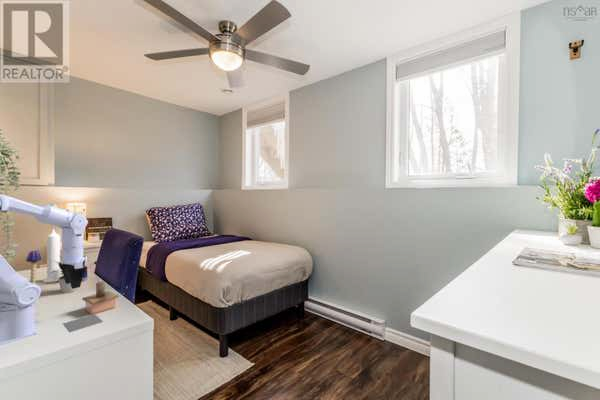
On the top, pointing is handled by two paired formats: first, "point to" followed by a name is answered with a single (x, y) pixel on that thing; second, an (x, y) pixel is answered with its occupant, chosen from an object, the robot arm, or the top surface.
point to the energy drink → (86, 270)
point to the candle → (53, 257)
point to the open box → (100, 306)
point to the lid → (100, 295)
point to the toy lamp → (33, 264)
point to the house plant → (64, 287)
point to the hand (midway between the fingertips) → (72, 285)
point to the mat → (82, 323)
